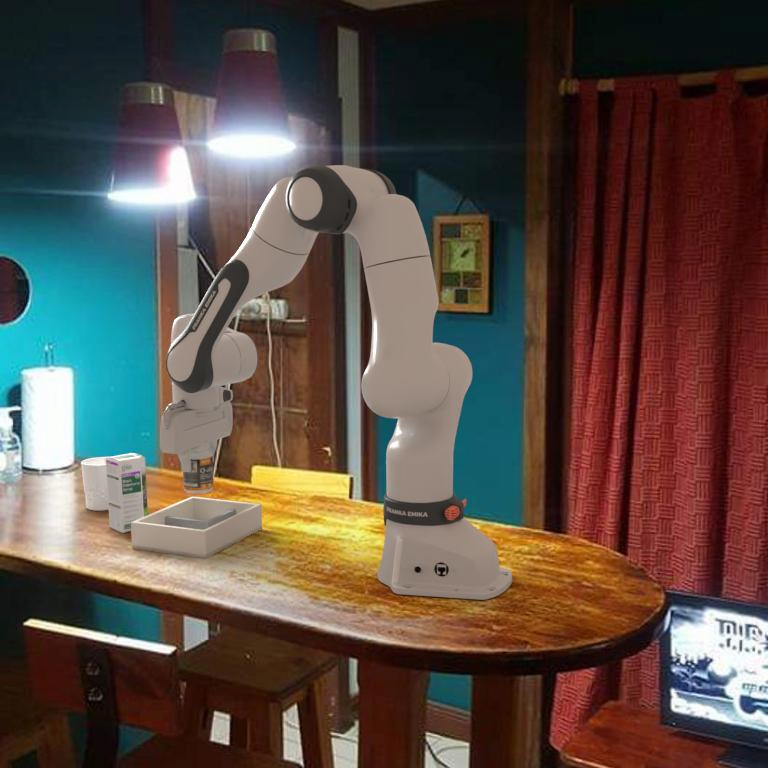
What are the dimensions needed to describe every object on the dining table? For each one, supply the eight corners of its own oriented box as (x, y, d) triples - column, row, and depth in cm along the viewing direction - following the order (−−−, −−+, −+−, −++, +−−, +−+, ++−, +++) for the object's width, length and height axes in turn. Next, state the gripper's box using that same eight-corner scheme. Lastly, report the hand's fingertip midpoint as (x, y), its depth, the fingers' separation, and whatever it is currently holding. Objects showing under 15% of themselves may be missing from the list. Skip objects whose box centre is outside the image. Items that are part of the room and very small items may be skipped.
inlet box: (262, 528, 203) (261, 504, 202) (205, 558, 185) (204, 531, 184) (192, 520, 209) (192, 496, 208) (132, 548, 191) (130, 522, 190)
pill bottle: (207, 495, 198) (205, 444, 196) (179, 493, 199) (177, 443, 197) (217, 487, 203) (216, 438, 202) (190, 486, 205) (188, 437, 203)
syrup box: (122, 533, 200) (119, 460, 198) (108, 527, 205) (105, 455, 203) (149, 528, 204) (146, 456, 202) (134, 522, 209) (131, 451, 206)
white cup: (129, 505, 222) (127, 459, 220) (101, 513, 215) (99, 466, 214) (104, 500, 226) (101, 455, 224) (75, 508, 219) (73, 462, 218)
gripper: (178, 406, 188) (181, 480, 190) (237, 390, 206) (239, 458, 208) (149, 404, 190) (152, 477, 192) (210, 388, 209) (212, 455, 211)
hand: (198, 467), depth 200 cm, fingers closed on pill bottle, 6 cm apart
